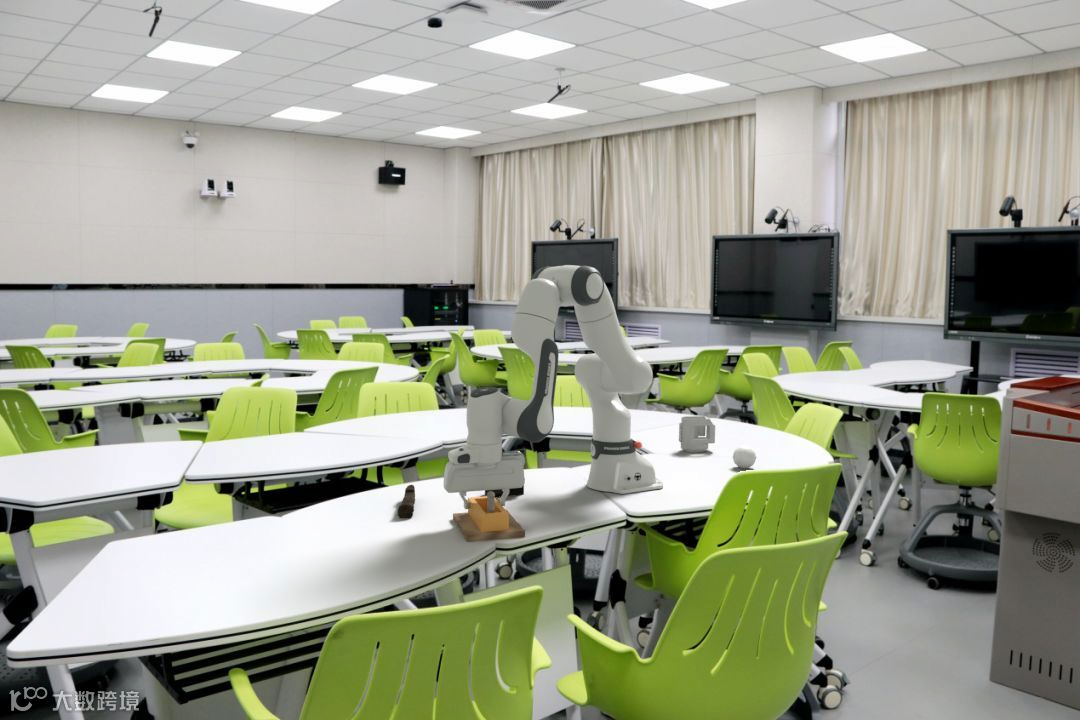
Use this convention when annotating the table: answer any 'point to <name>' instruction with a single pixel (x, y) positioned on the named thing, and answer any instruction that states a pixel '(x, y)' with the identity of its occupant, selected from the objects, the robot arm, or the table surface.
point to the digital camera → (511, 491)
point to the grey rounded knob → (744, 457)
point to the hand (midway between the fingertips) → (484, 507)
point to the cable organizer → (696, 433)
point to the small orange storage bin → (488, 515)
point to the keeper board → (475, 534)
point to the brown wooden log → (407, 503)
